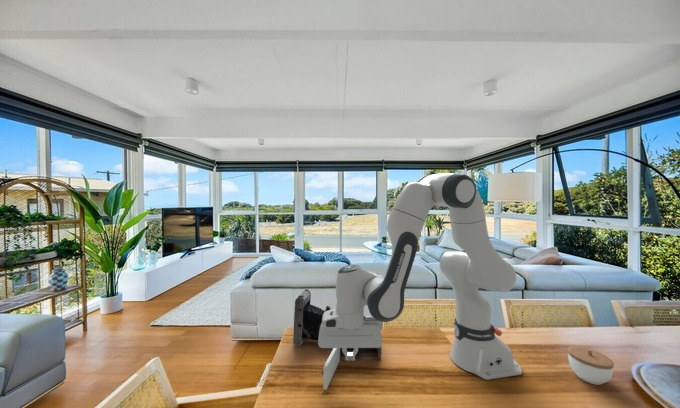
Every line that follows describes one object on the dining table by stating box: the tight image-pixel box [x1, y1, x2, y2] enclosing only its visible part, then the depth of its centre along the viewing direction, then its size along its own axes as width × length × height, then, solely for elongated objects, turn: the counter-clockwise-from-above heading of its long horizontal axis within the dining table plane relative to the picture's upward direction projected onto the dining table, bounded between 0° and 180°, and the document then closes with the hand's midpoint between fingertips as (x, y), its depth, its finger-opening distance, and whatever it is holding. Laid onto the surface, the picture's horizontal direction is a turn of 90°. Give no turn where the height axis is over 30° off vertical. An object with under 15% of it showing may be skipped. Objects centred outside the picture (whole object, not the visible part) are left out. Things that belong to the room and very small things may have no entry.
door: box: [321, 348, 341, 391], centre depth 82 cm, size 15×2×7 cm, turn 163°
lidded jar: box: [567, 345, 615, 386], centre depth 82 cm, size 11×11×9 cm
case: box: [340, 346, 382, 361], centre depth 96 cm, size 16×13×8 cm
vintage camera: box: [292, 288, 332, 347], centre depth 100 cm, size 10×16×20 cm, turn 79°
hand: (350, 359), depth 79 cm, fingers closed
